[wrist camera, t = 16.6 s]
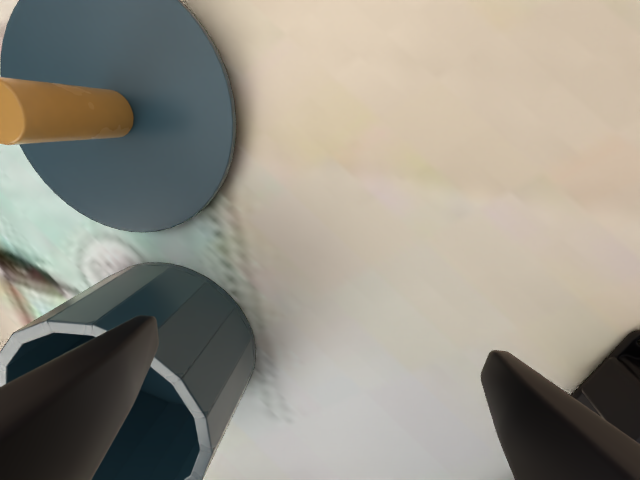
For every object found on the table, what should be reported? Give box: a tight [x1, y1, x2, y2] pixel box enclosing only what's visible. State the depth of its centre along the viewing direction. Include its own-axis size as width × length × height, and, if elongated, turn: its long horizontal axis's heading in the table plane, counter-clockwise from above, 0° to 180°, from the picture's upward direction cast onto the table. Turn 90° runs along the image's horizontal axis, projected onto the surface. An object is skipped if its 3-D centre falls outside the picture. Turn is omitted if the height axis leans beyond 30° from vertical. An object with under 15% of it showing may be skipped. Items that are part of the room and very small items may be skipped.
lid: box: [0, 0, 236, 232], centre depth 16 cm, size 13×13×7 cm
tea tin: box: [0, 263, 256, 480], centre depth 21 cm, size 12×12×7 cm
